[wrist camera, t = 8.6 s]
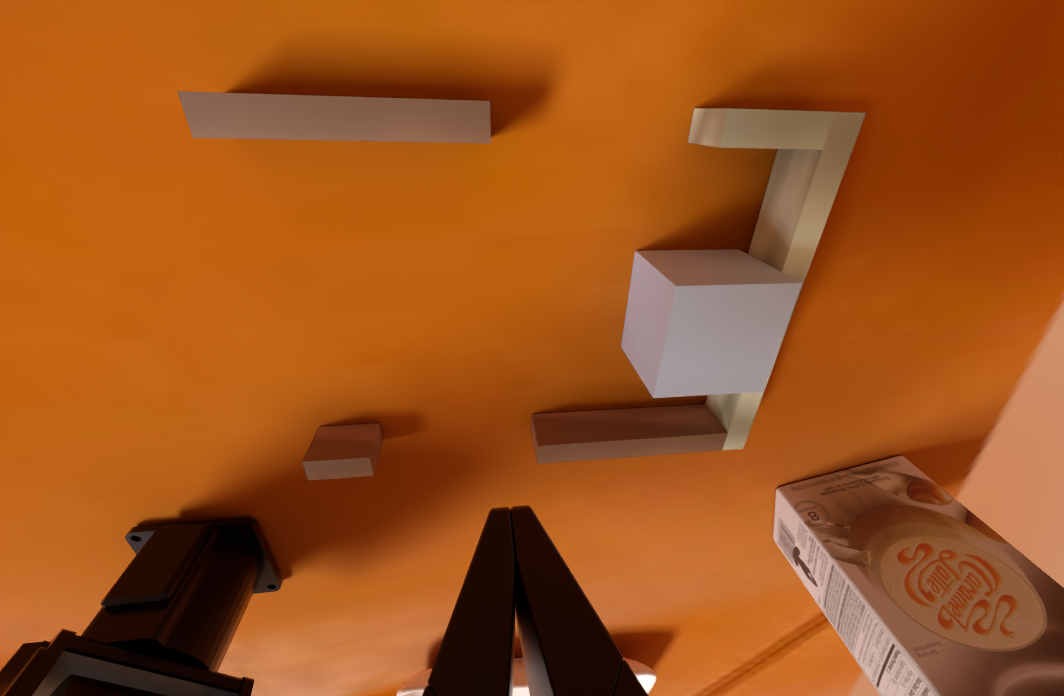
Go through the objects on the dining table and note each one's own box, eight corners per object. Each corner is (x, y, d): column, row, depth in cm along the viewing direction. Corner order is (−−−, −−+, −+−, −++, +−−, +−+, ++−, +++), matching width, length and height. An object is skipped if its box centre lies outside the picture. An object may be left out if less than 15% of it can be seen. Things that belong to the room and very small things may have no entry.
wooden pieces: (719, 419, 25) (743, 448, 23) (324, 444, 22) (308, 480, 20) (816, 112, 17) (866, 112, 15) (222, 93, 14) (177, 91, 12)
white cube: (712, 342, 22) (763, 391, 18) (620, 345, 21) (653, 398, 18) (737, 248, 20) (802, 283, 16) (634, 250, 19) (676, 286, 15)
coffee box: (904, 449, 28) (1317, 776, 14) (887, 509, 32) (1210, 822, 18) (772, 486, 28) (1056, 843, 15) (768, 541, 32) (997, 876, 18)
